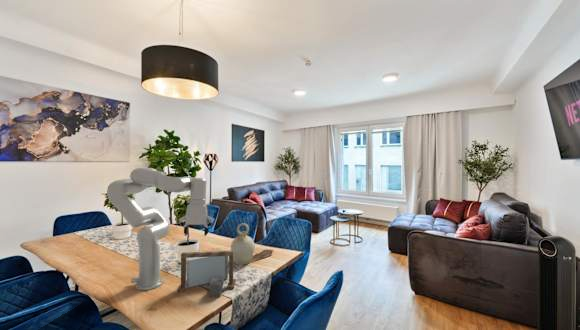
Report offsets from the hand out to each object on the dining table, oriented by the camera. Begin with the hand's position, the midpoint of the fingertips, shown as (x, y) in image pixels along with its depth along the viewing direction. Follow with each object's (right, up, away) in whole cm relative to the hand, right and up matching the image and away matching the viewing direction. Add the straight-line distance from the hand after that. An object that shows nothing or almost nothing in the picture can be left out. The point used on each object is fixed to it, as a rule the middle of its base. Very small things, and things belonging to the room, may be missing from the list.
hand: (196, 234), depth 119 cm
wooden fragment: (+29, -28, +43) cm, 59 cm away
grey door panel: (+4, -27, +5) cm, 28 cm away
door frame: (+5, -28, +1) cm, 28 cm away
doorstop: (+11, -28, -1) cm, 30 cm away
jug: (+17, -28, +34) cm, 47 cm away
